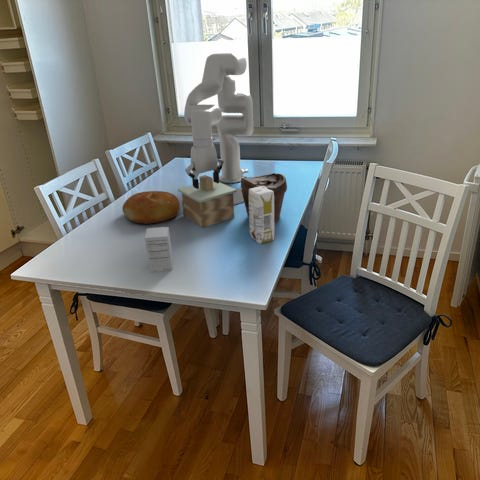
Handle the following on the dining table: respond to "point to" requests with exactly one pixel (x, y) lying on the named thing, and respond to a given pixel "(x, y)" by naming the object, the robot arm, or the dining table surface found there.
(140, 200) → the bread
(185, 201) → the crate
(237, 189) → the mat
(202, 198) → the lid
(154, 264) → the supplement box
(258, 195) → the juice carton
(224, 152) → the robot arm
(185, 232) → the dining table surface
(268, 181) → the brown plant pot
